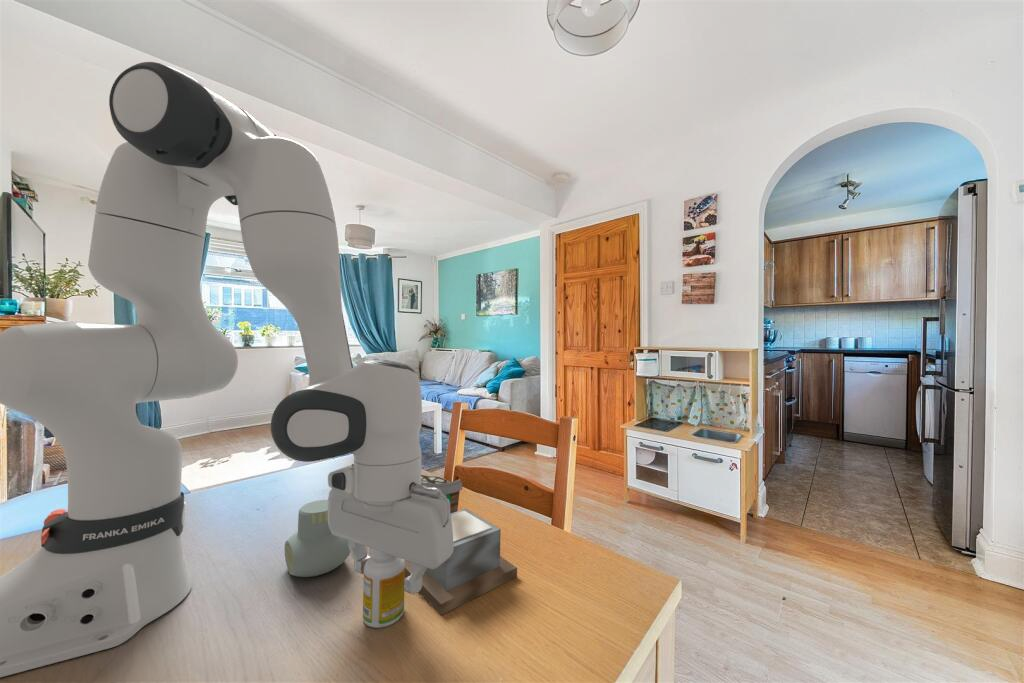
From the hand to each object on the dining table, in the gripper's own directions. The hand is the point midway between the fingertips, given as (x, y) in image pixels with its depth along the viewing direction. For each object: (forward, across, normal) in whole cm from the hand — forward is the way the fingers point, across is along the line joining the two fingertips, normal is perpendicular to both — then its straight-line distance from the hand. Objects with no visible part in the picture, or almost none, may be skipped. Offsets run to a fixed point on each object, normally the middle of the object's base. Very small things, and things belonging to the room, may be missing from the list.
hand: (386, 580), depth 51 cm
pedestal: (+5, -2, -13) cm, 14 cm away
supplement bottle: (+5, +1, 0) cm, 5 cm away
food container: (+5, +12, -23) cm, 26 cm away
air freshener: (+5, +19, -3) cm, 20 cm away
